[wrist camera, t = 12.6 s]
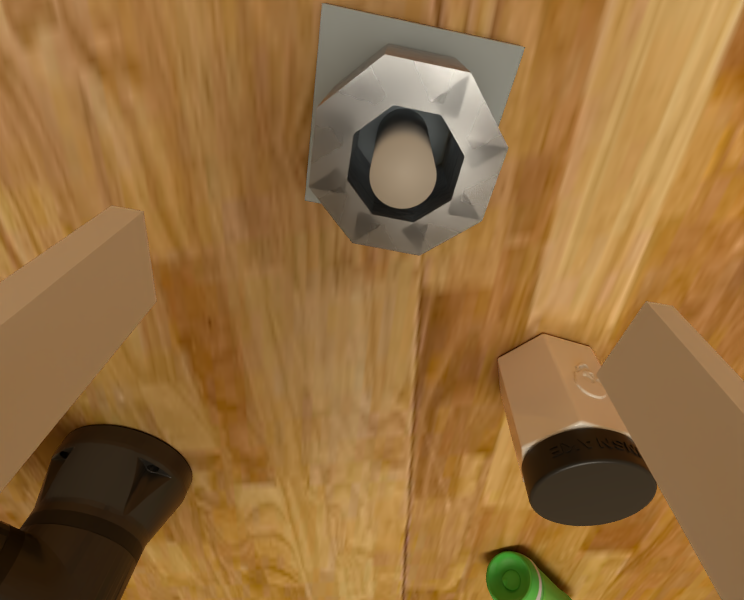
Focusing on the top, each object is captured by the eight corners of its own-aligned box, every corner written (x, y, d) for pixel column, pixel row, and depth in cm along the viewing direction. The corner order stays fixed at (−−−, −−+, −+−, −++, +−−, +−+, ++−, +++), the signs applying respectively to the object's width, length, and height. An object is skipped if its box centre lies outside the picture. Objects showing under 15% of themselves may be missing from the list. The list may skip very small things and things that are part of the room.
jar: (614, 350, 36) (693, 479, 26) (562, 408, 41) (613, 537, 31) (519, 323, 35) (566, 447, 25) (477, 386, 40) (502, 512, 30)
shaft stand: (308, 192, 29) (275, 259, 22) (326, 3, 23) (288, 2, 15) (460, 221, 30) (481, 296, 22) (518, 44, 24) (575, 64, 16)
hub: (321, 192, 27) (304, 233, 22) (340, 32, 22) (322, 40, 17) (454, 217, 27) (466, 264, 22) (502, 67, 22) (531, 85, 17)
